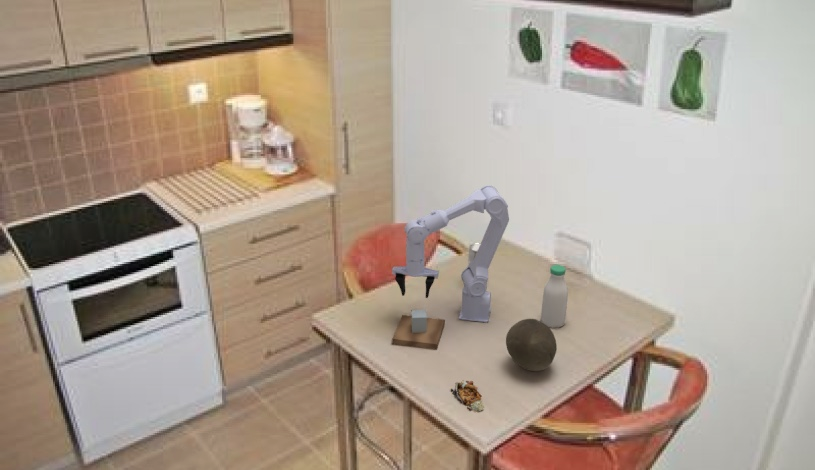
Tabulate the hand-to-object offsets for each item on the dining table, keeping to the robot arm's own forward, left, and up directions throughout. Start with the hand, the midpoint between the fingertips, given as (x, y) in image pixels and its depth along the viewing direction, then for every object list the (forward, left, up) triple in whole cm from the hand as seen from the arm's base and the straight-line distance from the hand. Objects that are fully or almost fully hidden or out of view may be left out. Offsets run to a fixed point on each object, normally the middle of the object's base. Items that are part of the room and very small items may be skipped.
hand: (415, 295), depth 223 cm
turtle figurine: (-23, +35, -10) cm, 43 cm away
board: (-3, +8, -9) cm, 13 cm away
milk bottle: (-44, -8, -10) cm, 46 cm away
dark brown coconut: (-38, +18, -10) cm, 43 cm away
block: (-3, +8, -7) cm, 11 cm away
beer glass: (-17, -27, -10) cm, 33 cm away
